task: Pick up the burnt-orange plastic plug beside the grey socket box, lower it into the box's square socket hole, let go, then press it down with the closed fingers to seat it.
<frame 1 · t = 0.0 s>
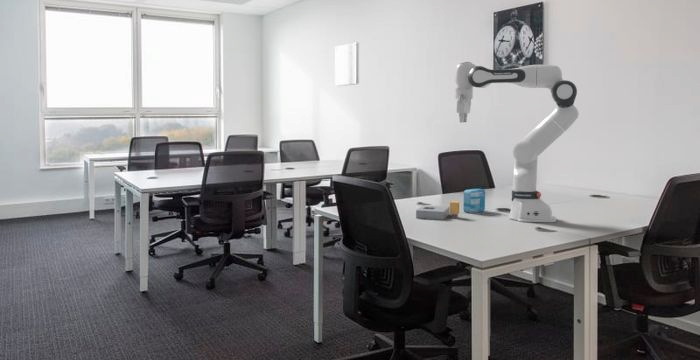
hand: (463, 122, 268), 48 cm above the table, fingers open, 8 cm apart
data package: (474, 212, 283), on the table
socket box: (433, 216, 271), on the table
plug: (454, 217, 267), on the table
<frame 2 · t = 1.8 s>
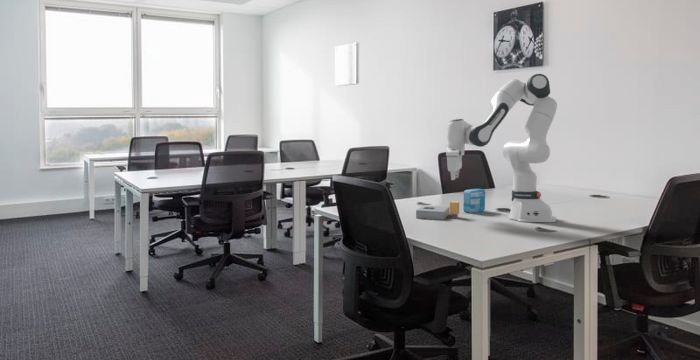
hand: (454, 179, 265), 20 cm above the table, fingers open, 8 cm apart
nothing on the table moved.
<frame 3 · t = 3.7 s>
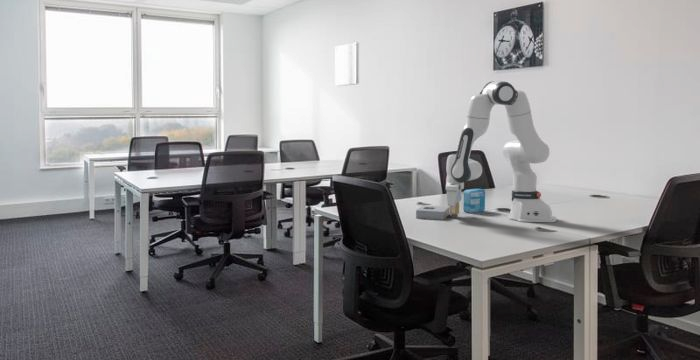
hand: (454, 212, 267), 3 cm above the table, fingers closed on plug, 4 cm apart
plug: (454, 217, 267), on the table, touching gripper
everything else where it was.
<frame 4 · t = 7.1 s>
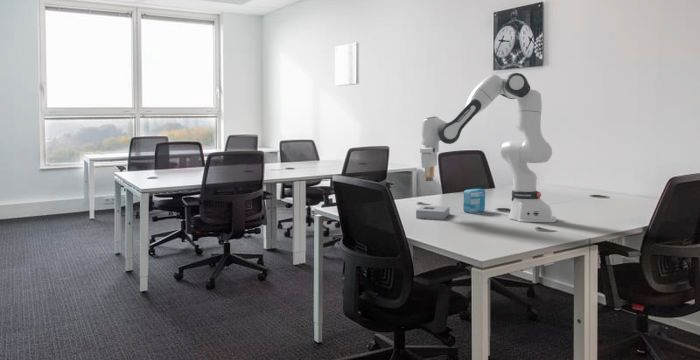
hand: (429, 175, 269), 21 cm above the table, fingers closed on plug, 4 cm apart
plug: (429, 180, 269), point 18 cm above the table, touching gripper
everything else where it was.
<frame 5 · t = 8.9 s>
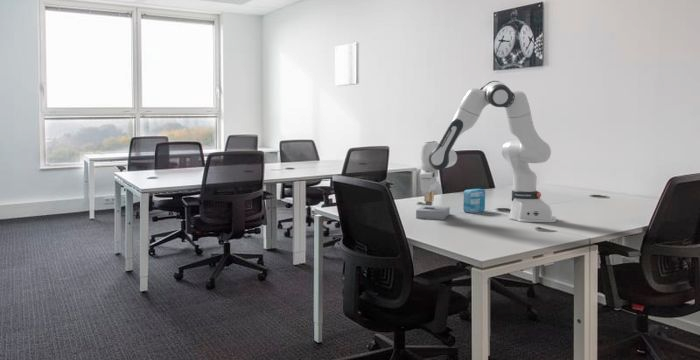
hand: (429, 199, 270), 8 cm above the table, fingers closed on plug, 4 cm apart
plug: (428, 204, 270), point 6 cm above the table, touching gripper
everything else where it was.
when the fingers open (5 cm above the table, at t = 10.4 s): plug drops 2 cm, resting in socket box.
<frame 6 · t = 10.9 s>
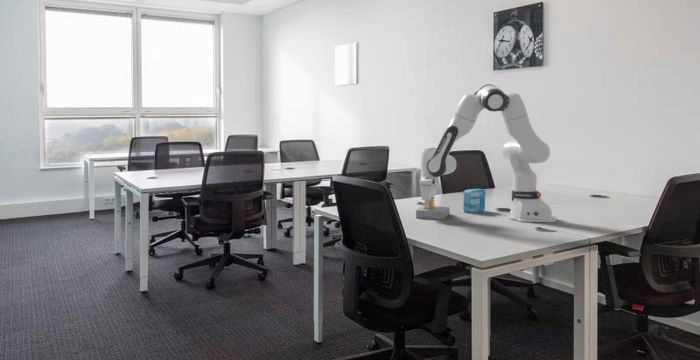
hand: (429, 206, 271), 5 cm above the table, fingers open, 8 cm apart
plug: (429, 215, 272), resting in socket box
everything else where it was.
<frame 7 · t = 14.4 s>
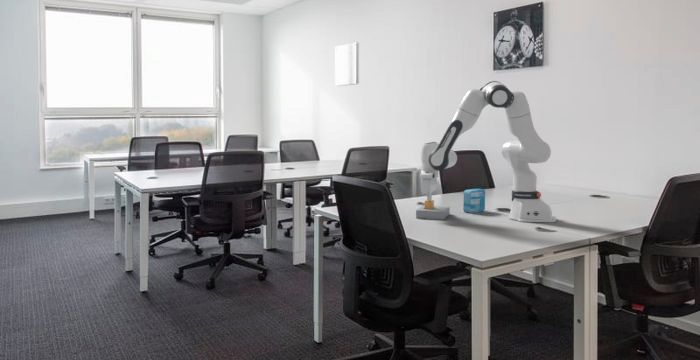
hand: (429, 200, 271), 8 cm above the table, fingers closed
nothing on the table moved.
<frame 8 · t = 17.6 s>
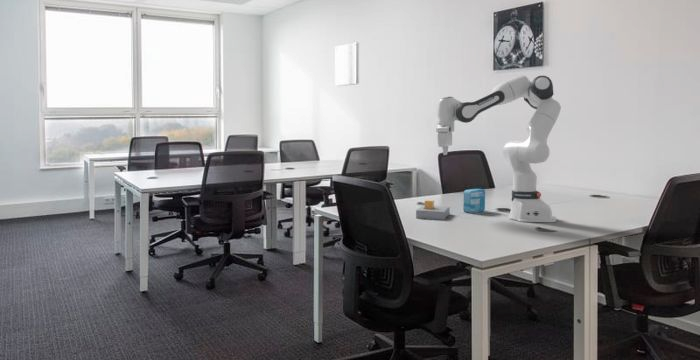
hand: (445, 154, 275), 31 cm above the table, fingers closed
nothing on the table moved.
at the end: plug 0.1 cm from the target spot on the socket box, point 0.0 cm above the socket box's base; plug tilted 0°; the gripper is holding nothing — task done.
